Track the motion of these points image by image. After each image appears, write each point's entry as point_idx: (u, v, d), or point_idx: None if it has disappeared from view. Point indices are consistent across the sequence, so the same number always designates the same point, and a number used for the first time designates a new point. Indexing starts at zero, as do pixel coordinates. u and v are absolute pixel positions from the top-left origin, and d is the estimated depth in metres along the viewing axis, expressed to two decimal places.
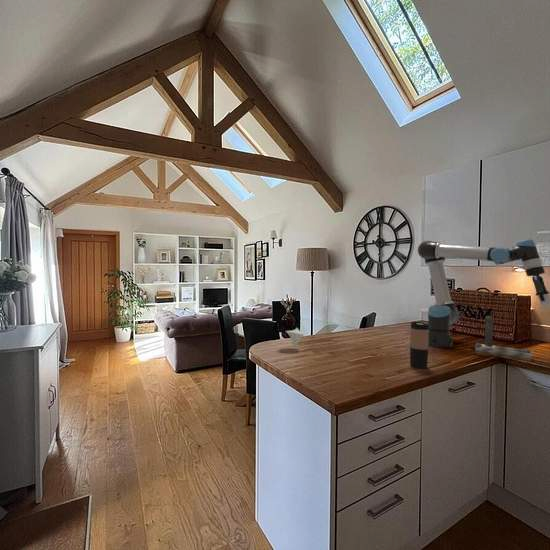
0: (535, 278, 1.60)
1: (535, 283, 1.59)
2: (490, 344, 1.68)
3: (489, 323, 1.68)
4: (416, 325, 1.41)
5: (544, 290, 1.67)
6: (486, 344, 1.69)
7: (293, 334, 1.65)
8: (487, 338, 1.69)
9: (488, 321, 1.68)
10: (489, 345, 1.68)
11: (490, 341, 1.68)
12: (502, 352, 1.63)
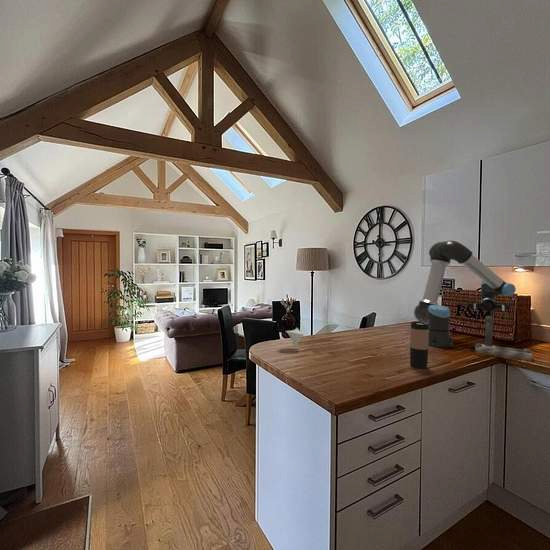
0: None
1: None
2: (490, 344, 1.68)
3: (489, 323, 1.68)
4: (416, 325, 1.41)
5: (476, 306, 1.87)
6: (486, 344, 1.69)
7: (293, 334, 1.65)
8: (487, 338, 1.69)
9: (488, 321, 1.68)
10: (489, 345, 1.68)
11: (490, 341, 1.68)
12: (502, 352, 1.63)
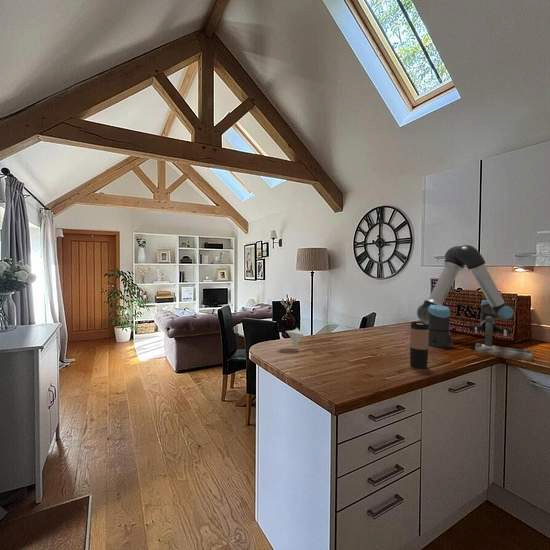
0: None
1: None
2: (490, 344, 1.68)
3: (489, 323, 1.68)
4: (416, 325, 1.41)
5: (477, 329, 1.83)
6: (486, 344, 1.69)
7: (293, 334, 1.65)
8: (487, 338, 1.69)
9: (488, 321, 1.68)
10: (489, 345, 1.68)
11: (490, 341, 1.68)
12: (502, 352, 1.63)
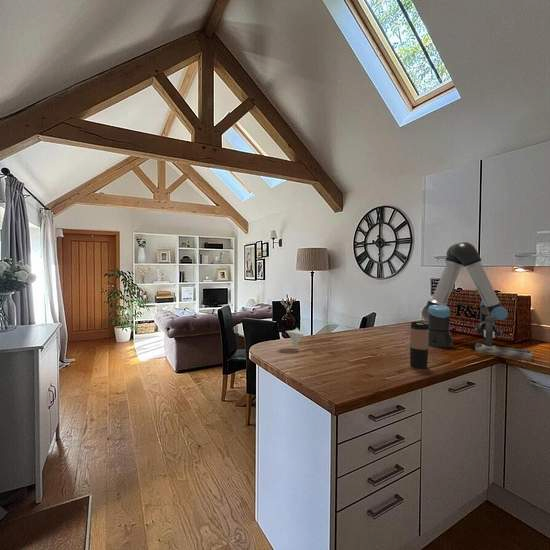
0: (501, 331, 1.74)
1: (500, 331, 1.72)
2: (490, 344, 1.68)
3: (489, 323, 1.68)
4: (416, 325, 1.41)
5: None
6: (486, 344, 1.69)
7: (293, 334, 1.65)
8: (487, 338, 1.69)
9: (488, 321, 1.68)
10: (489, 345, 1.68)
11: (490, 341, 1.68)
12: (502, 352, 1.63)
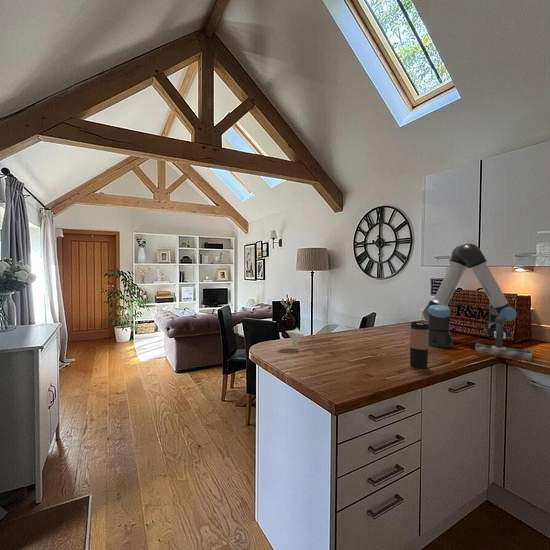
0: (511, 332, 1.72)
1: (511, 332, 1.70)
2: (500, 345, 1.65)
3: (500, 324, 1.65)
4: (416, 325, 1.41)
5: None
6: (496, 345, 1.66)
7: (293, 334, 1.65)
8: (497, 339, 1.66)
9: (498, 322, 1.66)
10: (499, 346, 1.65)
11: (500, 342, 1.65)
12: (502, 352, 1.63)
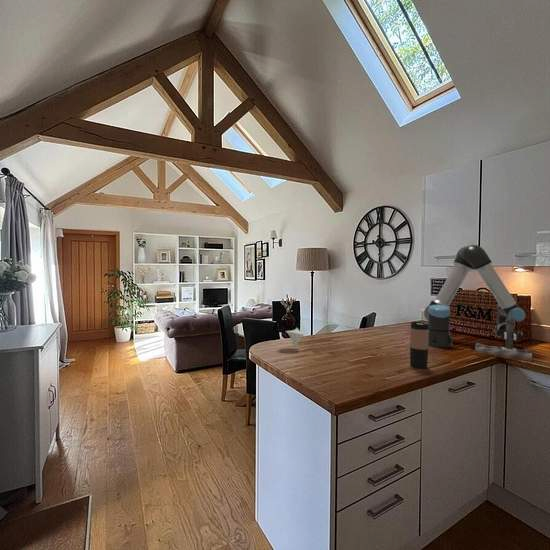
0: (521, 333, 1.70)
1: (521, 333, 1.68)
2: (511, 347, 1.63)
3: (510, 325, 1.63)
4: (416, 325, 1.41)
5: None
6: (507, 346, 1.64)
7: (293, 334, 1.65)
8: (508, 340, 1.64)
9: (509, 323, 1.63)
10: (510, 348, 1.63)
11: (511, 343, 1.63)
12: (502, 352, 1.63)
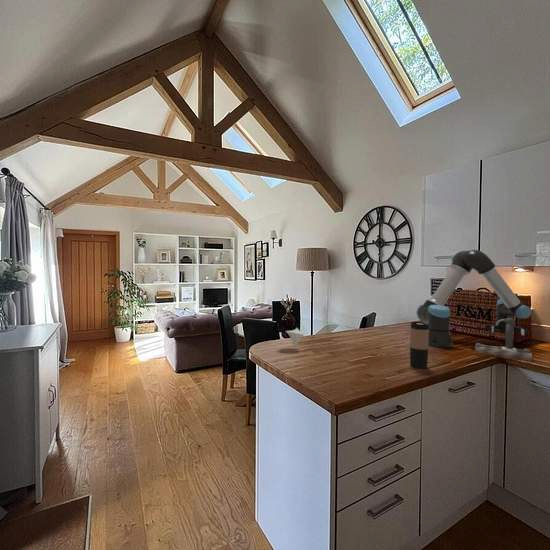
0: None
1: None
2: (511, 347, 1.63)
3: (510, 325, 1.63)
4: (416, 325, 1.41)
5: (494, 328, 1.83)
6: (507, 346, 1.64)
7: (293, 334, 1.65)
8: (508, 340, 1.64)
9: (509, 323, 1.63)
10: (510, 348, 1.63)
11: (511, 343, 1.63)
12: (502, 352, 1.63)
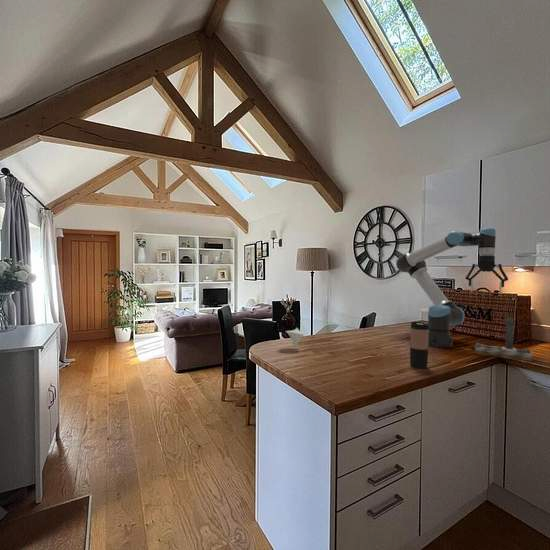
0: (472, 265, 1.81)
1: (470, 270, 1.82)
2: (511, 347, 1.63)
3: (510, 325, 1.63)
4: (416, 325, 1.41)
5: (498, 277, 1.74)
6: (507, 346, 1.64)
7: (293, 334, 1.65)
8: (508, 340, 1.64)
9: (509, 323, 1.63)
10: (510, 348, 1.63)
11: (511, 343, 1.63)
12: (502, 352, 1.63)
